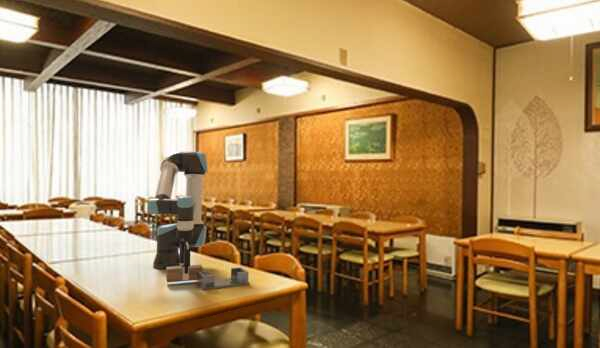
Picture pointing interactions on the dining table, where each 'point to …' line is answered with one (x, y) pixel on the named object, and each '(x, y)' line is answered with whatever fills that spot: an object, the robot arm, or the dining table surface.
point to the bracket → (237, 279)
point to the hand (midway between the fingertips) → (184, 278)
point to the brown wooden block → (177, 273)
